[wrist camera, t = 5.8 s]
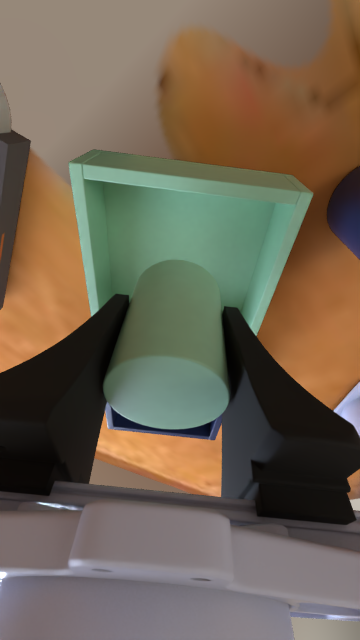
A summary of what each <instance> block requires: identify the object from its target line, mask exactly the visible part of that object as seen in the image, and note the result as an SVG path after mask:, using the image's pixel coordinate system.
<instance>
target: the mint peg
mask: <svg viewBox="0 0 360 640" xmlns="http://www.w3.org/2000/svg"><path fill="white" fill-rule="evenodd" d="M103 392H104V396H105V398H106V400H107V402H108V403H109V405H110V406H111V407H112V408H113V409H114V410H115V411H117V412H118V413H119V414H121V415H122V416H124V417H125V418H127V419H129V420H131V421H134V422H136V423H139V424H142V425H145V426H149V427H154V428H161V429H186V428H193V427H197V426H201V425H204V424H206V423H209V422H211V421H213V420H215V419H216V418H217V417H219V416H220V415H221V414H222V413H223V412H224V411H225V410H226V408H227V406H228V404H229V401H230V386H229V376H228V366H227V357H226V347H225V337H224V327H223V318H222V308H221V298H220V291H219V287H218V284H217V282H216V280H215V279H214V277H213V276H212V275H211V274H210V273H209V272H208V271H207V270H206V269H204V268H203V267H201V266H199V265H197V264H195V263H193V262H189V261H185V260H176V259H175V260H166V261H162V262H159V263H156V264H154V265H152V266H150V267H149V268H147V269H146V270H145V271H144V272H143V273H142V274H141V275H140V277H139V279H138V280H137V283H136V285H135V288H134V291H133V294H132V297H131V300H130V303H129V306H128V309H127V312H126V315H125V318H124V321H123V324H122V327H121V330H120V333H119V336H118V339H117V342H116V345H115V348H114V351H113V354H112V357H111V360H110V363H109V366H108V369H107V372H106V375H105V378H104V382H103Z"/></svg>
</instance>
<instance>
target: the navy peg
mask: <svg viewBox="0 0 360 640" xmlns="http://www.w3.org/2000/svg"><path fill="white" fill-rule="evenodd" d="M327 220H328V224H329V227H330V229H331V230H332V231H333V233H334V234H335V235H336V236H337V237H338V238H339V239H340V240H341V241H342V242H343V243H344V244H345V245H346V246H347V247H348V248H349V249H350V250H351V251H352V252H353V253H354V254H355V255H356V256H357V257H358V258H359V259H360V166H359V167H357V168H356V169H355V170H353V171H352V172H351V173H349V174H348V175H347V176H346V177H345V178H344V179H343V180H342V181H341V183H340V184H339V185H338V186H337V188H336V189H335V191H334V193H333V195H332V197H331V199H330V201H329V205H328V209H327Z"/></svg>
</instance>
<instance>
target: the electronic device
mask: <svg viewBox="0 0 360 640" xmlns="http://www.w3.org/2000/svg"><path fill="white" fill-rule="evenodd" d="M30 142H31V141H30V140H29V139H26V138H25V137H23V136H22V135H20V134H18V133H16V132H15V131H13V130H11V114H10V108H9V104H8V101H7V98H6V95H5V93H4V90H3V88H2V86H1V84H0V309H1V308H2V307H3V303H4V297H5V291H6V285H7V279H8V274H9V268H10V262H11V256H12V250H13V244H14V238H15V232H16V226H17V220H18V214H19V208H20V202H21V196H22V190H23V184H24V178H25V173H26V167H27V161H28V155H29V149H30Z"/></svg>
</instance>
